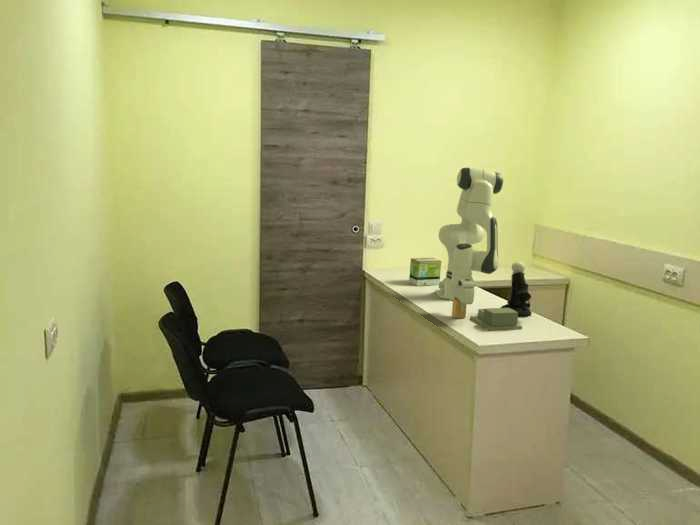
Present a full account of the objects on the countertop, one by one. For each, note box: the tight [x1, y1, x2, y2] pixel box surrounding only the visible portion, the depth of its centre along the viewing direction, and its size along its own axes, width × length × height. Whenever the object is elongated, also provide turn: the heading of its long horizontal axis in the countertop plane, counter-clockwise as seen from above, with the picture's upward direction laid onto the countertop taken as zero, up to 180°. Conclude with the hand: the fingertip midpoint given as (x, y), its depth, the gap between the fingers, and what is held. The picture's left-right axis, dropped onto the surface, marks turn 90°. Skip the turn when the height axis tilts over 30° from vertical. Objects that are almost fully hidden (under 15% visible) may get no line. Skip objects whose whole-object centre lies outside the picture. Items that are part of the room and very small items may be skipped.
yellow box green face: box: [451, 297, 468, 319], centre depth 270 cm, size 4×5×9 cm
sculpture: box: [500, 261, 532, 318], centre depth 275 cm, size 15×24×25 cm, turn 179°
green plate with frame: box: [469, 307, 523, 331], centre depth 261 cm, size 18×16×7 cm
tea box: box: [408, 257, 442, 287], centre depth 338 cm, size 15×10×15 cm
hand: (459, 309), depth 270 cm, fingers closed on yellow box green face, 4 cm apart
